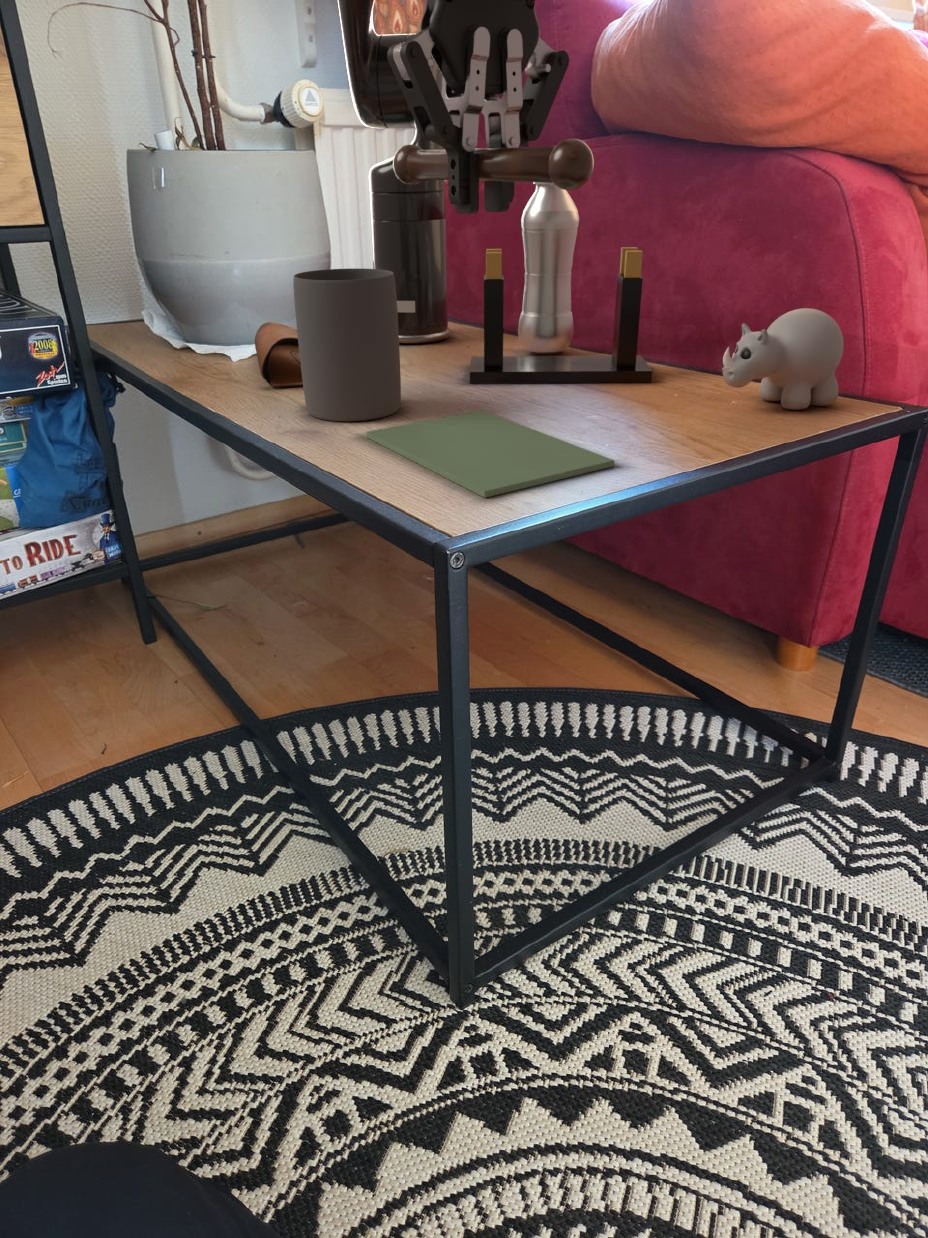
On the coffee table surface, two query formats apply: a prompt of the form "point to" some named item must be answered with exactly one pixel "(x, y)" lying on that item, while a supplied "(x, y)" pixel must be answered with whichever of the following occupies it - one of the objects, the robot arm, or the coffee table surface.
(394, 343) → the mug
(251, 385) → the coffee table surface
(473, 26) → the robot arm
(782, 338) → the toy rhinoceros
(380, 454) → the coffee table surface
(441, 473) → the mat
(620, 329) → the rack
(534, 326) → the silver metal bottle
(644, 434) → the coffee table surface
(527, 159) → the knobbed wooden handle
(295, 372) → the sunglasses case
